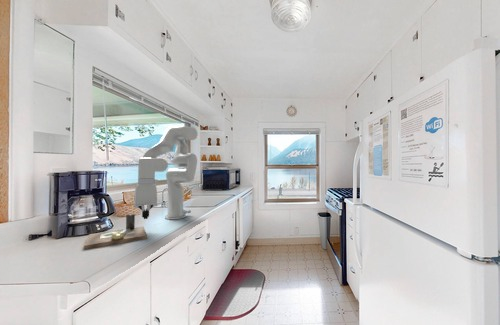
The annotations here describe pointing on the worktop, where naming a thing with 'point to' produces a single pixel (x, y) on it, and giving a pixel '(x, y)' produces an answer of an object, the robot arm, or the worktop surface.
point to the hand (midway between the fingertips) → (145, 218)
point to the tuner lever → (129, 226)
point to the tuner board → (106, 239)
